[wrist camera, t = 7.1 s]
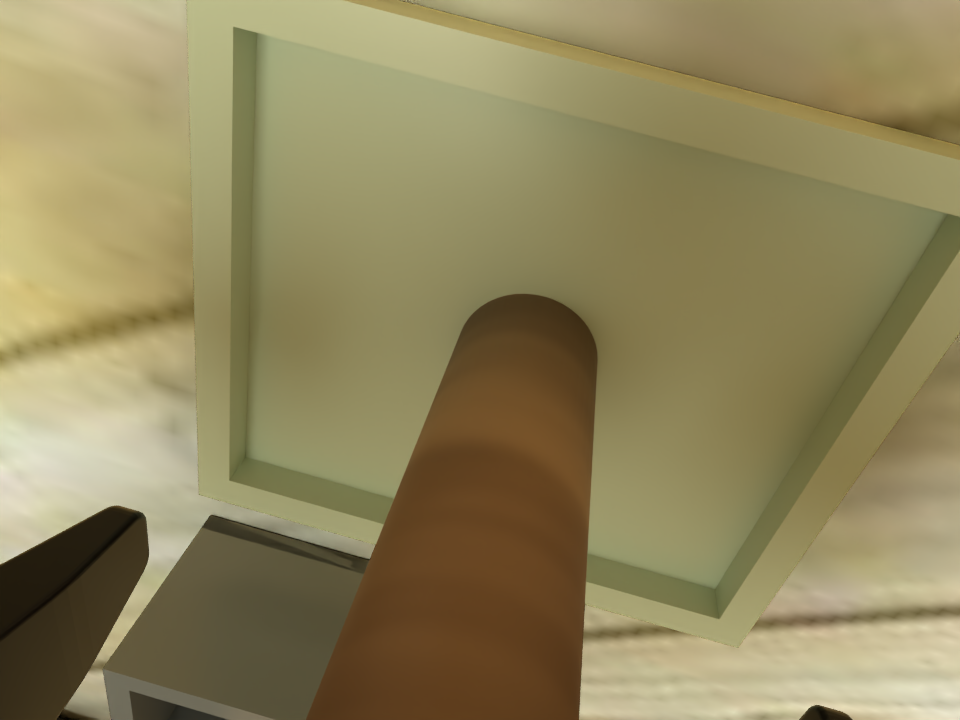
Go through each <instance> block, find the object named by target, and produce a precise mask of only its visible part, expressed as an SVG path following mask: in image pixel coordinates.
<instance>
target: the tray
mask: <svg viewBox="0 0 960 720" xmlns="http://www.w3.org/2000/svg"><path fill="white" fill-rule="evenodd" d="M186 2H187V41H188V81H189V121H190V161H191V201H192V241H193V281H194V321H195V361H196V401H197V441H198V481H199V495H202V496H205V497H209V498H212V499H216V500H219V501H223V502H226V503H230V504H233V505H237V506H240V507H244V508H247V509H251V510H255V511H258V512H262V513H265V514H269V515H272V516H276V517H279V518H283V519H286V520H290V521H293V522H297V523H300V524H304V525H307V526H311V527H314V528H318V529H321V530H325V531H328V532H332V533H335V534H339V535H342V536H346V537H349V538H353V539H357V540H360V541H364V542H367V543H371V544H374V545H376V543H377V540H378V538H379V535H380V533H381V530H382V528H383V525H384V523H385V520H386V518H387V515H388V513H389V510H390V508H391V505H392V503H393V500H394V498H395V495H396V493H397V490H398V488H399V485H400V483H401V480H402V478H403V475H404V473H405V470H406V468H407V465H408V463H409V460H410V458H411V455H412V453H413V450H414V448H415V445H416V443H417V440H418V438H419V435H420V433H421V430H422V428H423V425H424V423H425V420H426V418H427V415H428V413H429V410H430V408H431V405H432V403H433V400H434V398H435V395H436V393H437V390H438V388H439V385H440V383H441V380H442V378H443V375H444V373H445V370H446V368H447V365H448V363H449V360H450V358H451V355H452V353H453V350H454V348H455V345H456V343H457V340H458V338H459V335H460V333H461V330H462V328H463V326H464V324H465V323H466V321H467V320H468V318H469V317H470V316H471V315H472V314H473V313H474V312H475V311H476V310H477V309H478V308H480V307H481V306H482V305H484V304H486V303H487V302H489V301H491V300H494V299H496V298H499V297H502V296H506V295H512V294H535V295H540V296H544V297H547V298H550V299H553V300H556V301H558V302H560V303H562V304H564V305H565V306H567V307H568V308H570V309H571V310H572V311H574V312H575V313H576V314H577V315H578V316H579V317H580V318H581V319H582V320H583V321H584V322H585V324H586V325H587V326H588V328H589V329H590V331H591V333H592V335H593V338H594V340H595V343H596V348H597V357H598V362H597V381H596V400H595V420H594V439H593V458H592V477H591V496H590V515H589V534H588V553H587V572H586V592H585V605H589V606H592V607H596V608H599V609H603V610H606V611H610V612H613V613H617V614H620V615H624V616H627V617H631V618H634V619H638V620H641V621H645V622H648V623H652V624H655V625H659V626H662V627H666V628H670V629H673V630H677V631H680V632H684V633H687V634H691V635H694V636H698V637H701V638H705V639H708V640H712V641H715V642H719V643H722V644H726V645H729V646H733V647H736V648H738V647H739V646H740V644H741V643H742V642H743V640H744V639H745V637H746V636H747V635H748V633H749V632H750V630H751V629H752V627H753V626H754V625H755V623H756V622H757V620H758V619H759V617H760V616H761V615H762V613H763V612H764V610H765V609H766V607H767V606H768V605H769V603H770V602H771V600H772V599H773V597H774V596H775V595H776V593H777V592H778V590H779V589H780V588H781V586H782V585H783V583H784V582H785V580H786V579H787V578H788V576H789V575H790V573H791V572H792V570H793V569H794V568H795V566H796V565H797V563H798V562H799V560H800V559H801V558H802V556H803V555H804V553H805V552H806V551H807V549H808V548H809V546H810V545H811V543H812V542H813V541H814V539H815V538H816V536H817V535H818V533H819V532H820V531H821V529H822V528H823V526H824V525H825V523H826V522H827V521H828V519H829V518H830V516H831V515H832V513H833V512H834V511H835V509H836V508H837V506H838V505H839V504H840V502H841V501H842V499H843V498H844V496H845V495H846V494H847V492H848V491H849V489H850V488H851V486H852V485H853V484H854V482H855V481H856V479H857V478H858V476H859V475H860V474H861V472H862V471H863V469H864V468H865V467H866V465H867V464H868V462H869V461H870V459H871V458H872V457H873V455H874V454H875V452H876V451H877V449H878V448H879V447H880V445H881V444H882V442H883V441H884V439H885V438H886V437H887V435H888V434H889V432H890V431H891V430H892V428H893V427H894V425H895V424H896V422H897V421H898V420H899V418H900V417H901V415H902V414H903V412H904V411H905V410H906V408H907V407H908V405H909V404H910V402H911V401H912V400H913V398H914V397H915V395H916V394H917V392H918V391H919V390H920V388H921V387H922V385H923V384H924V383H925V381H926V380H927V378H928V377H929V375H930V374H931V373H932V371H933V370H934V368H935V367H936V365H937V364H938V363H939V361H940V360H941V358H942V357H943V355H944V354H945V353H946V351H947V350H948V348H949V347H950V346H951V344H952V343H953V341H954V340H955V338H956V337H957V336H958V334H959V333H960V145H957V144H953V143H949V142H945V141H941V140H937V139H934V138H930V137H926V136H922V135H918V134H914V133H910V132H907V131H903V130H899V129H895V128H891V127H887V126H883V125H880V124H876V123H872V122H868V121H864V120H860V119H856V118H852V117H849V116H845V115H841V114H837V113H833V112H829V111H825V110H822V109H818V108H814V107H810V106H806V105H802V104H798V103H794V102H791V101H787V100H783V99H779V98H775V97H771V96H767V95H764V94H760V93H756V92H752V91H748V90H744V89H740V88H736V87H733V86H729V85H725V84H721V83H717V82H713V81H709V80H706V79H702V78H698V77H694V76H690V75H686V74H682V73H678V72H675V71H671V70H667V69H663V68H659V67H655V66H651V65H648V64H644V63H640V62H636V61H632V60H628V59H624V58H620V57H617V56H613V55H609V54H605V53H601V52H597V51H593V50H590V49H586V48H582V47H578V46H574V45H570V44H566V43H562V42H559V41H555V40H551V39H547V38H543V37H539V36H535V35H532V34H528V33H524V32H520V31H516V30H512V29H508V28H504V27H501V26H497V25H493V24H489V23H485V22H481V21H477V20H474V19H470V18H466V17H462V16H458V15H454V14H450V13H446V12H443V11H439V10H435V9H431V8H427V7H423V6H419V5H416V4H412V3H408V2H404V1H400V0H186Z"/></svg>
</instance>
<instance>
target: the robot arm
mask: <svg viewBox="0 0 960 720" xmlns="http://www.w3.org/2000/svg"><path fill="white" fill-rule="evenodd" d="M148 557H149V546H148V534H147V523H146V517H145V516H144V514H143V513H141V512H139V511H136V510H132V509H129V508H125V507H122V506H111V507H108V508H106V509H104V510H102V511H100V512H98V513H96V514H95V515H93V516H91V517H89V518H87V519H85V520H83V521H81V522H80V523H78V524H76V525H74V526H72V527H70V528H68V529H66V530H65V531H63V532H61V533H59V534H57V535H55V536H53V537H51V538H50V539H48V540H46V541H44V542H42V543H40V544H38V545H36V546H35V547H33V548H31V549H29V550H27V551H25V552H23V553H21V554H20V555H18V556H16V557H14V558H12V559H10V560H8V561H6V562H5V563H3V564H1V565H0V720H65V719H61V718H58V716H59V715H60V713H61V712H62V711H63V709H64V708H65V706H66V705H67V703H68V702H69V700H70V699H71V697H72V696H73V695H74V693H75V691H76V690H77V688H78V687H79V685H80V684H81V682H82V681H83V679H84V678H85V676H86V674H87V673H88V671H89V669H90V667H91V666H92V664H93V662H94V661H95V659H96V657H97V655H98V653H99V652H100V650H101V648H102V646H103V644H104V642H105V641H106V639H107V637H108V635H109V633H110V632H111V630H112V628H113V626H114V624H115V622H116V621H117V619H118V617H119V615H120V613H121V612H122V610H123V608H124V606H125V604H126V602H127V601H128V599H129V597H130V595H131V593H132V592H133V590H134V588H135V586H136V584H137V583H138V581H139V579H140V577H141V575H142V573H143V572H144V570H145V567H146V565H147V561H148ZM799 720H852V719H851V718H850V717H849V716H848V715H847V714H845V713H843V712H841V711H838V710H834V709H831V708H827V707H824V706H820V705H815V706H812V707H810V708H809V709H808V710H807V711H806V712H805V714H804V715H803V716H802V717H801V718H800V719H799Z"/></svg>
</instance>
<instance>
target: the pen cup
mask: <svg viewBox="0 0 960 720" xmlns="http://www.w3.org/2000/svg"><path fill="white" fill-rule="evenodd" d="M368 563H369V560H365V559H362V558H358V557H355V556H351V555H348V554H344V553H341V552H337V551H334V550H330V549H327V548H323V547H320V546H316V545H313V544H309V543H306V542H302V541H299V540H295V539H292V538H288V537H285V536H281V535H278V534H274V533H271V532H267V531H264V530H260V529H257V528H253V527H250V526H246V525H243V524H239V523H236V522H232V521H229V520H225V519H222V518H218V517H214V516H211V515H210V517H209V518H208V519H207V521H206V522H205V524H204V525H203V526H202V528H201V529H200V531H199V532H198V534H197V535H196V536H195V538H194V539H193V541H192V542H191V544H190V545H189V546H188V548H187V549H186V551H185V552H184V554H183V555H182V556H181V558H180V559H179V561H178V562H177V564H176V565H175V566H174V568H173V569H172V571H171V572H170V574H169V575H168V576H167V578H166V579H165V581H164V582H163V584H162V585H161V586H160V588H159V589H158V591H157V592H156V594H155V595H154V596H153V598H152V599H151V601H150V602H149V604H148V605H147V606H146V608H145V609H144V611H143V612H142V613H141V615H140V616H139V618H138V619H137V621H136V622H135V623H134V625H133V626H132V628H131V629H130V631H129V632H128V633H127V635H126V636H125V638H124V639H123V641H122V642H121V643H120V645H119V646H118V648H117V649H116V651H115V652H114V653H113V655H112V656H111V658H110V659H109V661H108V662H107V663H106V665H105V666H104V668H103V674H104V680H105V686H106V692H107V698H108V704H109V710H110V716H111V720H306V718H307V715H308V713H309V710H310V708H311V705H312V703H313V700H314V698H315V695H316V693H317V690H318V688H319V685H320V683H321V680H322V678H323V675H324V673H325V670H326V668H327V665H328V663H329V660H330V658H331V655H332V653H333V650H334V648H335V645H336V643H337V640H338V638H339V635H340V633H341V630H342V628H343V625H344V623H345V620H346V618H347V615H348V613H349V610H350V608H351V605H352V603H353V600H354V598H355V595H356V593H357V590H358V588H359V585H360V583H361V580H362V578H363V575H364V573H365V570H366V568H367V565H368Z"/></svg>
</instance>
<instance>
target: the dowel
mask: <svg viewBox="0 0 960 720" xmlns="http://www.w3.org/2000/svg"><path fill="white" fill-rule="evenodd" d="M597 362H598V357H597V348H596V343H595V340H594V338H593V335H592V333H591V331H590V329H589V328H588V326H587V325H586V324H585V322H584V321H583V320H582V319H581V318H580V317H579V316H578V315H577V314H576V313H575V312H574V311H572V310H571V309H570V308H568V307H567V306H565V305H564V304H562V303H560V302H558V301H556V300H553V299H550V298H547V297H544V296H540V295H535V294H512V295H506V296H502V297H499V298H496V299H494V300H491V301H489V302H487V303H486V304H484V305H482V306H481V307H480V308H478V309H477V310H476V311H475V312H474V313H473V314H472V315H471V316H470V317H469V318H468V320H467V321H466V323H465V324H464V326H463V328H462V330H461V333H460V335H459V338H458V340H457V343H456V345H455V348H454V350H453V353H452V355H451V358H450V360H449V363H448V365H447V368H446V370H445V373H444V375H443V378H442V380H441V383H440V385H439V388H438V390H437V393H436V395H435V398H434V400H433V403H432V405H431V408H430V410H429V413H428V415H427V418H426V420H425V423H424V425H423V428H422V430H421V433H420V435H419V438H418V440H417V443H416V445H415V448H414V450H413V453H412V455H411V458H410V460H409V463H408V465H407V468H406V470H405V473H404V475H403V478H402V480H401V483H400V485H399V488H398V490H397V493H396V495H395V498H394V500H393V503H392V505H391V508H390V510H389V513H388V515H387V518H386V520H385V523H384V525H383V528H382V530H381V533H380V535H379V538H378V540H377V543H376V545H375V548H374V550H373V553H372V555H371V558H370V560H369V563H368V565H367V568H366V570H365V573H364V575H363V578H362V580H361V583H360V585H359V588H358V590H357V593H356V595H355V598H354V600H353V603H352V605H351V608H350V610H349V613H348V615H347V618H346V620H345V623H344V625H343V628H342V630H341V633H340V635H339V638H338V640H337V643H336V645H335V648H334V650H333V653H332V655H331V658H330V660H329V663H328V665H327V668H326V670H325V673H324V675H323V678H322V680H321V683H320V685H319V688H318V690H317V693H316V695H315V698H314V700H313V703H312V705H311V708H310V710H309V713H308V715H307V718H306V720H579V706H580V687H581V668H582V649H583V630H584V611H585V592H586V572H587V553H588V534H589V515H590V496H591V477H592V458H593V439H594V420H595V400H596V381H597Z"/></svg>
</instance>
